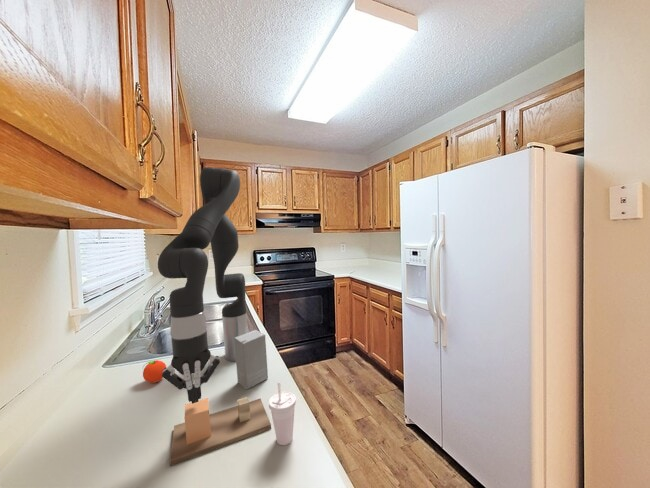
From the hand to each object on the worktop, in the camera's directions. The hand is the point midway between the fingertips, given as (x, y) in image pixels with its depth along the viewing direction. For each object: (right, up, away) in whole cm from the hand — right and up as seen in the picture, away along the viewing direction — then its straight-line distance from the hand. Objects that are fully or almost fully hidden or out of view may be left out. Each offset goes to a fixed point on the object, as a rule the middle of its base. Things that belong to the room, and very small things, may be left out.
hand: (195, 401), depth 65 cm
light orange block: (+1, -8, 0) cm, 8 cm away
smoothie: (+22, -8, -1) cm, 24 cm away
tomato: (-27, -9, +27) cm, 39 cm away
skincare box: (+8, -8, +24) cm, 26 cm away
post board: (+6, -9, +3) cm, 11 cm away
